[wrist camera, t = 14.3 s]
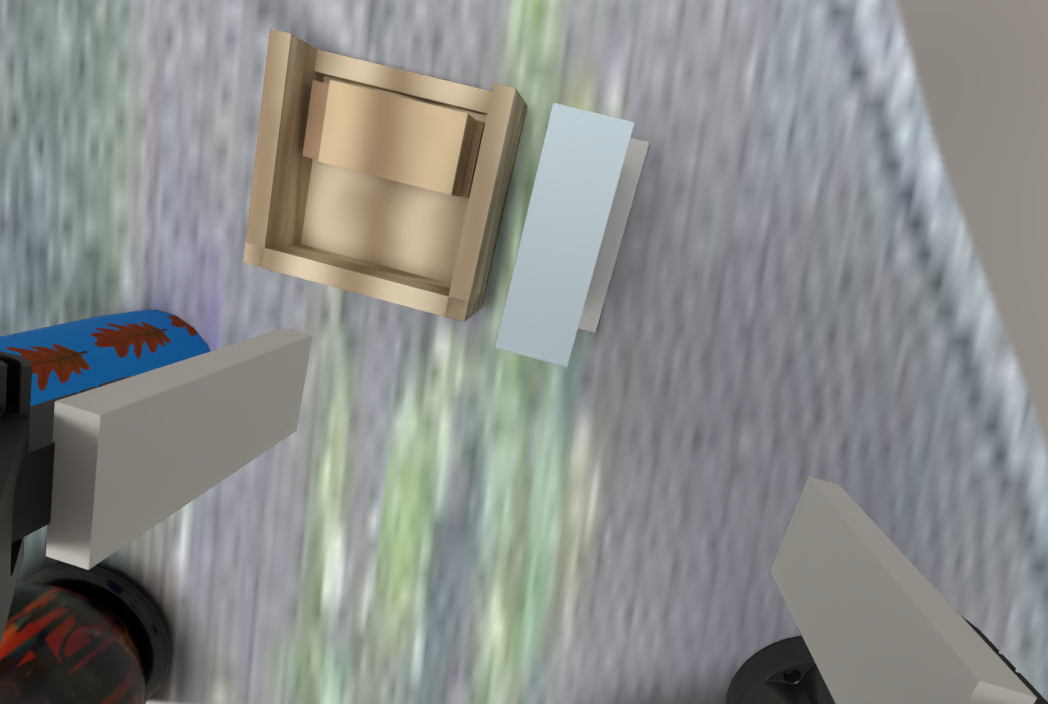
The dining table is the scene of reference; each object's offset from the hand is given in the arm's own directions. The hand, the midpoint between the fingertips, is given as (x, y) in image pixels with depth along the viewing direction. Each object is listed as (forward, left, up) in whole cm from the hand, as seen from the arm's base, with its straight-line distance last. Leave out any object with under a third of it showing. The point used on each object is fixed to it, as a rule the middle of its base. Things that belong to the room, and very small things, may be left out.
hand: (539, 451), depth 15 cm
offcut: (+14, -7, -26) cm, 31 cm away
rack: (+15, -5, -30) cm, 34 cm away
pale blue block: (+1, -4, -29) cm, 30 cm away
